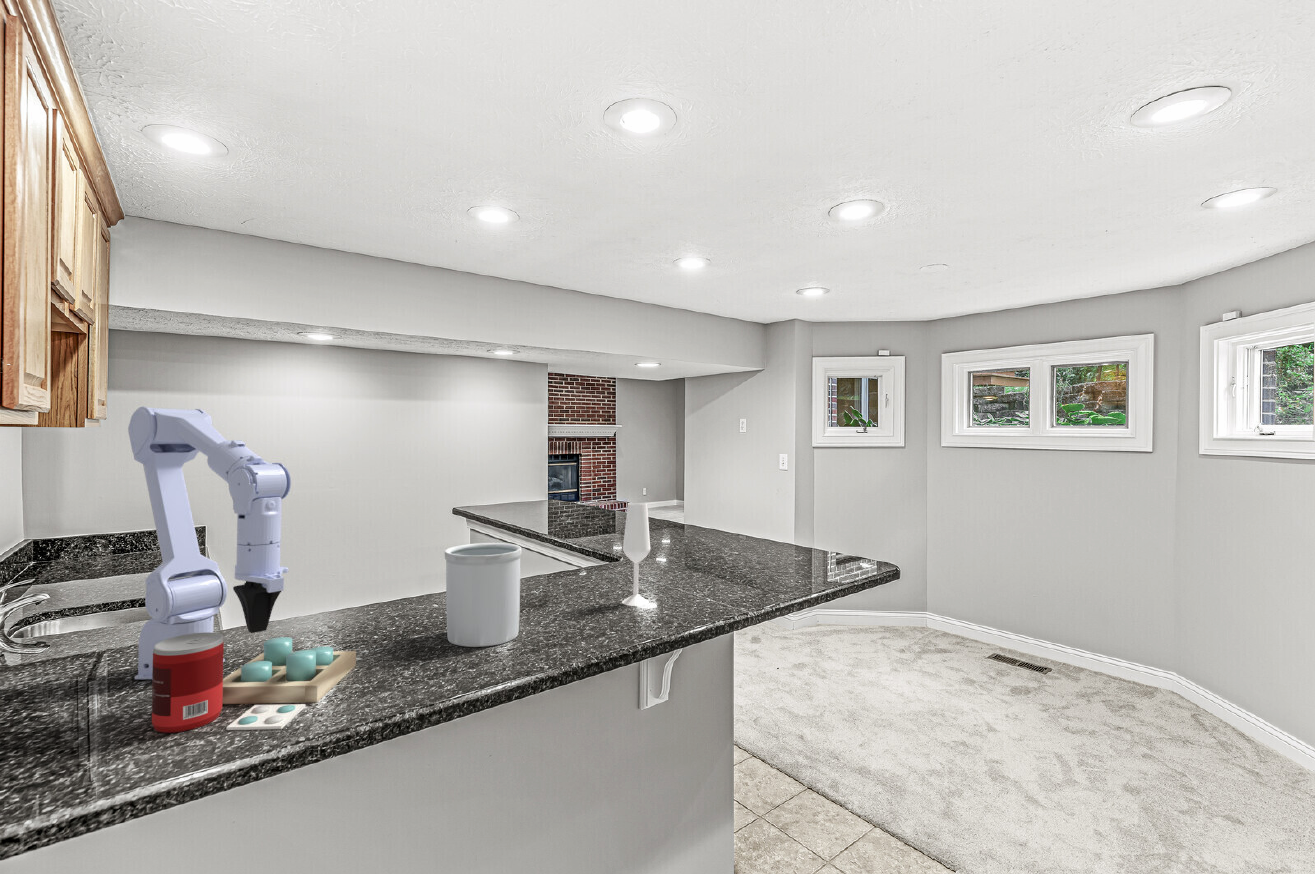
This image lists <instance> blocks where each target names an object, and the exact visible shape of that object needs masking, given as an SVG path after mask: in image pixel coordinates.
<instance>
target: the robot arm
mask: <svg viewBox="0 0 1315 874" xmlns="http://www.w3.org/2000/svg"><path fill="white" fill-rule="evenodd" d="M127 429H128V431H127V432H128V436H129V441H130V446H131V451H132V453H133V458H134V460H135V461H136V462H138V463H140V464H142V465H143V471H144V476H145V481H146V487H147V490H148V491H147V492H148V496H149V501H150V505H151V510H152V515H153V519H154V521H153V522H154V526H155V531H156V535H157V540H158V545H159V549H160V556H161V561H162V563H160V565H158V566H157V567H156V568H155V569H153V571H152V572H151V573H149V574H148V575H147V577H146V578H145V590H146V591H145V598H144V599H145V600H144V601H145V603H144V604H145V609H146V612H147V614H148V615H149V617H151V619H149V620H147V621H146V623H145V624H144V625H143V626H142V628H141V630H140V633H139V637H138V659H137V662H138V665H137V667H138V669H137V670H138V672H137V675H135V676H134V680H152V670H153V650H154V646H155V645H156V644H157V643H159V642H161V641H163V640H166V639H169V638H172V637H176V636H181V635H186V634H193V633H214V624H215V623H214V621H215V620H214V616H215V615H216V614H217V615H218V614H219V609H220V608H222V607H223V605H224V604H225V601H226V600H227V597H228V593H229V592H228V590H229V589H228V585H227V582H226V579H225V578H224V576H223V575H222V573H221V570H220V568H219V564H218V563H217V562H216V561H215V560H213V559H211V558H208V557H206V556H204V555H202V554H201V552H200V547H199V542H198V537H197V533H196V527H195V523H194V518H193V514H192V508H191V503H190V499H189V494H188V490H187V486H186V485H187V484H186V481H185V476H184V470H183V467H184V464H185V463H189V462H190V461H192V460H194V459H195V458H196V457H197V455H198V453H202V454H203V455H204V456H206V457H207V459H206V461H207V465H208V467H209V469H210V470H211V471H213V472H214V473H215V474H217V475H218V477H220V478H221V479H222V480H224V481H225V483H227V485H228V491H229V494H230V497H231V499H232V505H233V506H232V509H233V512H234V514H237V519H236V520H237V523H236V525H237V526H236V528H237V529H236V531H237V533H236V560H235V561H236V564H235V565H234V579H235V580H237V581H242V582H243V581H244V584H240V585H239V584H238V585H235V586H233V587H232V588H233V592H234V593H235V595H236V596H237V598H238V600H239V602H240V605H241V607H242V611H243V612H242V613H243V616H244V620H245V624H246V628H247V631H248V632H249V634H255V633H259V632H264V631H265V632H266V631H267V629H268V626H269V623H270V619H271V615H272V612H273V609H274V606H275V604H276V601H277V599H278V597H279V595H280V594H281V593H282V592H283V591H284V590H285V587H284V586H285V578H284V577H283V576H282V574H287V573H289V567H286V566H281V545H282V544H281V541H282V500H283V499H285V498H286V497H287V496H288V495H289V493H290V491H291V487H292V479H291V475H290V471H289V470H288V468H287V467H286V466H285V465H284V464H283V463H282V462H272V463H271V462H267V461H265V460H264V459H263V458H262V456H260V455H258V454H256V453H255V452H254V451H252V450H251V449H250V448H248V447H247V446H246V442H244V440H235V439H232V440H227V439H226V438H225V437H224V436H223V435H222V434H221V433H220V432H219V431H218V430H217V429H216V428H215V427H214V426H213V420H212V416H211V415H210V414H208V413H207V412H206V411H205V410H204V409H201V408H195V409H185V408H182V409H181V408H163V407H161V408H159V407H149V406H140V407H138V408H137V409H136V410H135V411H134V412H133V413H132V415H131V416H130V420H129V423H128V428H127ZM225 660H226V659H225V658H223V663H224V662H225Z"/></svg>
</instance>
